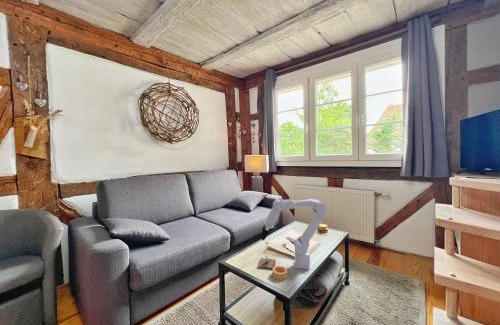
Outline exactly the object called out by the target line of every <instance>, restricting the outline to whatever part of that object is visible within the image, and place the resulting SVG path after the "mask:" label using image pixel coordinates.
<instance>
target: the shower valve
mask: <svg viewBox="0 0 500 325" xmlns="http://www.w3.org/2000/svg"><path fill="white" fill-rule="evenodd" d="M285 239H286V240H287V241H289V243H290V242H291V243H292V244H294V241H295V240H296V239H294V238H292V237H289V236H286V237H285Z"/></svg>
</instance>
